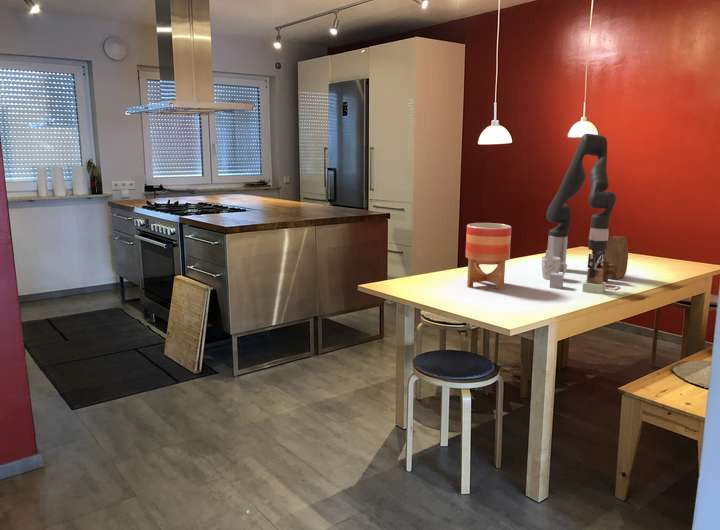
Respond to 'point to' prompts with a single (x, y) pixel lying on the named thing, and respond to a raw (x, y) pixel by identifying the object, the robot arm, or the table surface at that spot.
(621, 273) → the brown tall piece
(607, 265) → the mug
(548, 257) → the mug
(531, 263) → the table surface
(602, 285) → the base block
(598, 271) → the walnut block
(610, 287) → the tile
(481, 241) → the planter
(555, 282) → the grey block
